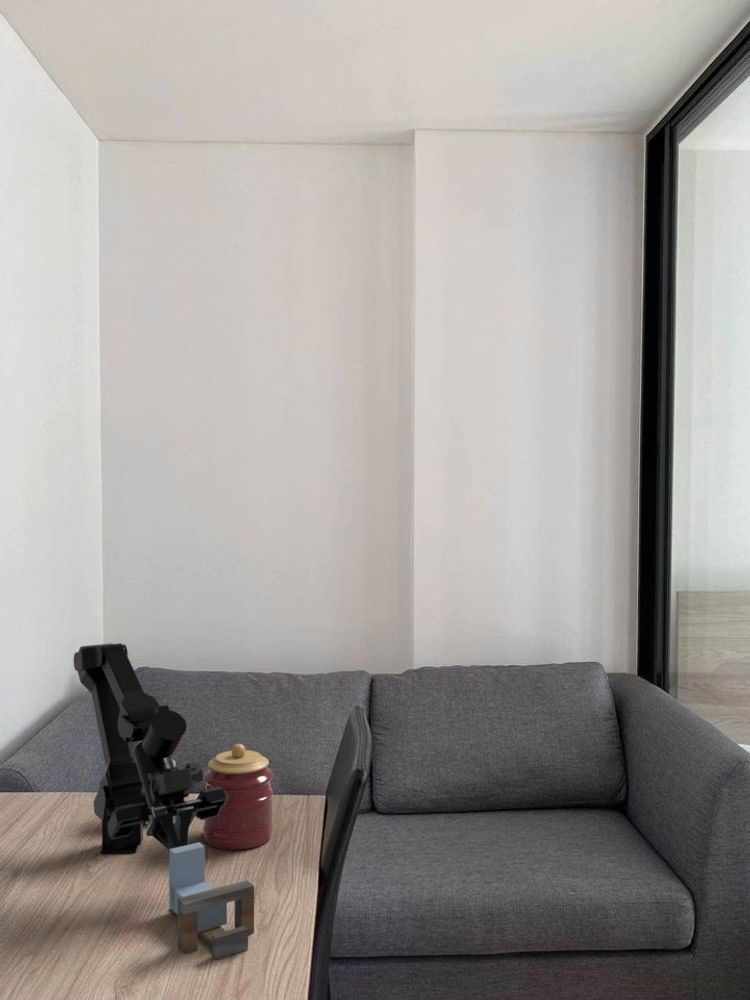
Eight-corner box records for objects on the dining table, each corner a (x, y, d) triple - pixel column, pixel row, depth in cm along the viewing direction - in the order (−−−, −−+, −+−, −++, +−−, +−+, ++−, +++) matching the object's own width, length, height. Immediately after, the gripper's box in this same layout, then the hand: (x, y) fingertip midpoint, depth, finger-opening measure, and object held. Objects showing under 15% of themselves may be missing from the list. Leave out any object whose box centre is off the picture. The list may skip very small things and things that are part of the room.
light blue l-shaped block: (169, 906, 144) (169, 849, 143) (199, 898, 146) (199, 842, 146) (195, 933, 135) (195, 872, 135) (226, 923, 138) (226, 864, 138)
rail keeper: (147, 914, 143) (147, 869, 143) (213, 896, 149) (213, 853, 149) (195, 966, 128) (195, 915, 128) (266, 943, 134) (266, 896, 134)
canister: (285, 841, 172) (285, 747, 172) (221, 857, 165) (221, 758, 164) (253, 820, 183) (253, 731, 182) (192, 833, 175) (192, 741, 175)
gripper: (113, 756, 144) (138, 850, 135) (223, 738, 154) (254, 824, 145) (97, 793, 150) (120, 884, 142) (204, 773, 161) (232, 857, 152)
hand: (183, 861), depth 145 cm, fingers closed, pressing on light blue l-shaped block
